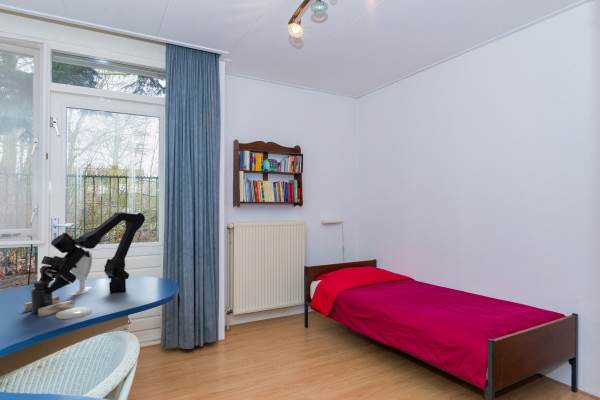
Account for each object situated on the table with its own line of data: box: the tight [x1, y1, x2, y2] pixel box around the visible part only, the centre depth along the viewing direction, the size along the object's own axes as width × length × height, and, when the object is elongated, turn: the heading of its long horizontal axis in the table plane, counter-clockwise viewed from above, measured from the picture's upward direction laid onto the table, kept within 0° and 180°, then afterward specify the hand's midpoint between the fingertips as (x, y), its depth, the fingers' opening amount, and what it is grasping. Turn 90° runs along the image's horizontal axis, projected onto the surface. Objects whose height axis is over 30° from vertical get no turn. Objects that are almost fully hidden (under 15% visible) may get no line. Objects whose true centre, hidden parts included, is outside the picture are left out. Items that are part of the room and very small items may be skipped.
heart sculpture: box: [70, 251, 93, 296], centre depth 170 cm, size 16×5×18 cm, turn 10°
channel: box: [24, 295, 74, 318], centre depth 143 cm, size 12×12×3 cm
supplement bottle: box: [30, 280, 53, 315], centre depth 141 cm, size 7×7×12 cm
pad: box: [55, 306, 93, 320], centre depth 139 cm, size 12×12×1 cm
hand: (41, 291), depth 141 cm, fingers open, 9 cm apart
